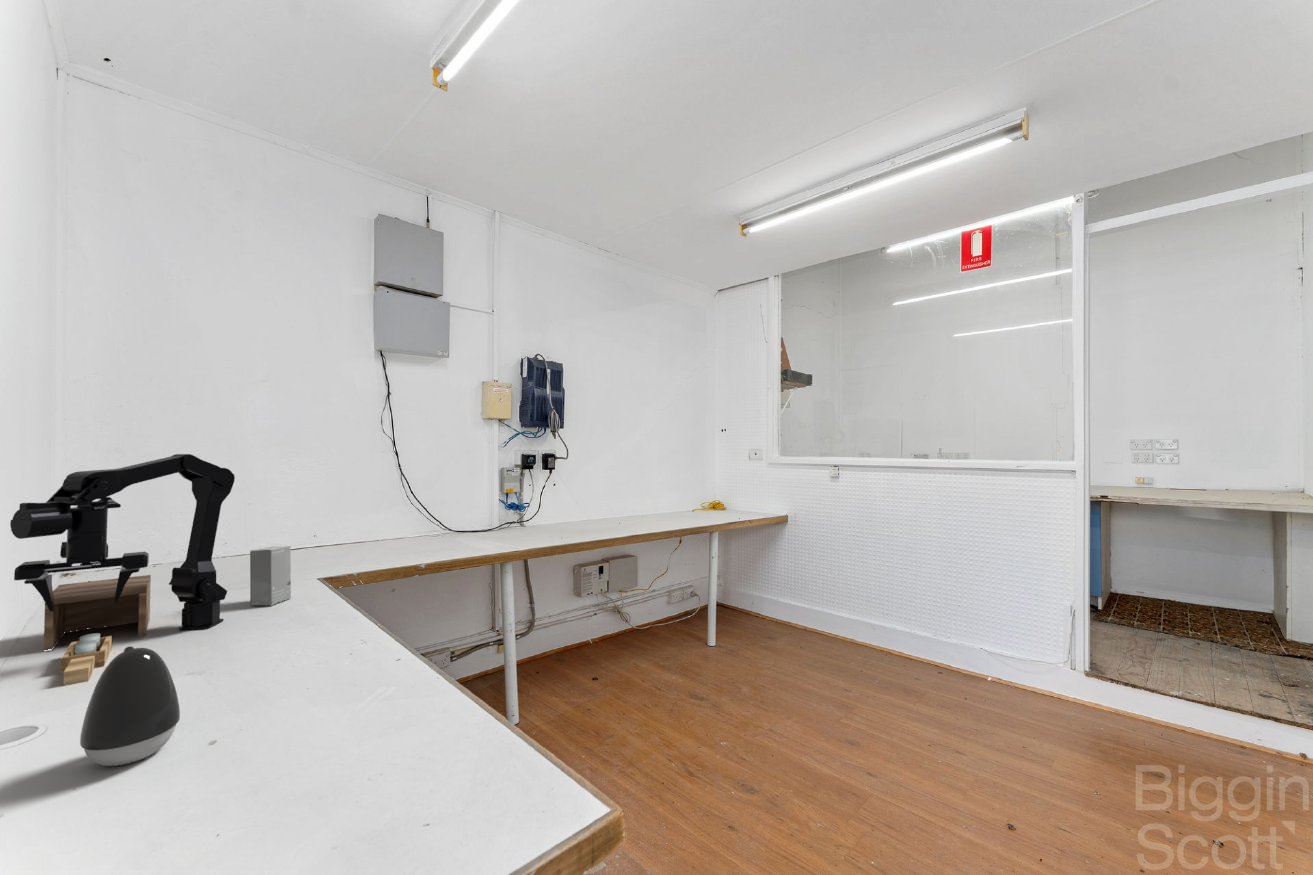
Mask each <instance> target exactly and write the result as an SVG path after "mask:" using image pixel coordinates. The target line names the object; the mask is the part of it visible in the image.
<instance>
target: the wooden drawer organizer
mask: <svg viewBox="0 0 1313 875" xmlns="http://www.w3.org/2000/svg"><path fill="white" fill-rule="evenodd" d="M151 576H152V575H151V574H146V575H145V574H144V575H137V576H130V577H129V579H128V581H127V582H126V584H125V586H124V588H123V591H122V593H121V595H120V598H119V600H118V602H117V603H115V593H116V588H117V583H118V578H119V577H118V578H110V579H101V580H100V579H99V580H92V581H91V580H90V581H82V582H73V583H65V584H64V583H63V584H59V585H57V586H56V588H55V589H53V597H54V610H53V611H50V610H49V609H48V607H47V605H46V603H45V602H44V623H43V624H44V626H43V651H44V650H48V649H52V648H53V647H54V646H55V645H56V646H57V644H58V643H59V641H60V640H61V639H60V638H62V637H63V636H64V635H65V633H64V632H69V633H71V632H70V631H76V630H82V631H85V630H84V629H87V628H96V629H99V628H98V627H102V628H105V627H104V626H109V627H115V625H116V626H120V625H127V624H126V623H129V624H134V623H135V624H136V623H138V627H137V628H138V631H137V632H138V634H137V637H145V636H146V634H147V630H148V627H149V624H150V620H151V619H150V618H151V617H150V615H151V581H152V580H151V578H152V577H151ZM76 632H77V631H76ZM63 634H64V635H63ZM62 635H63V636H62ZM61 636H62V637H61ZM59 639H60V640H59ZM57 642H58V643H57ZM56 643H57V644H56ZM56 646H55V647H56ZM55 647H54V648H55ZM54 648H53V649H54Z"/></svg>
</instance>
